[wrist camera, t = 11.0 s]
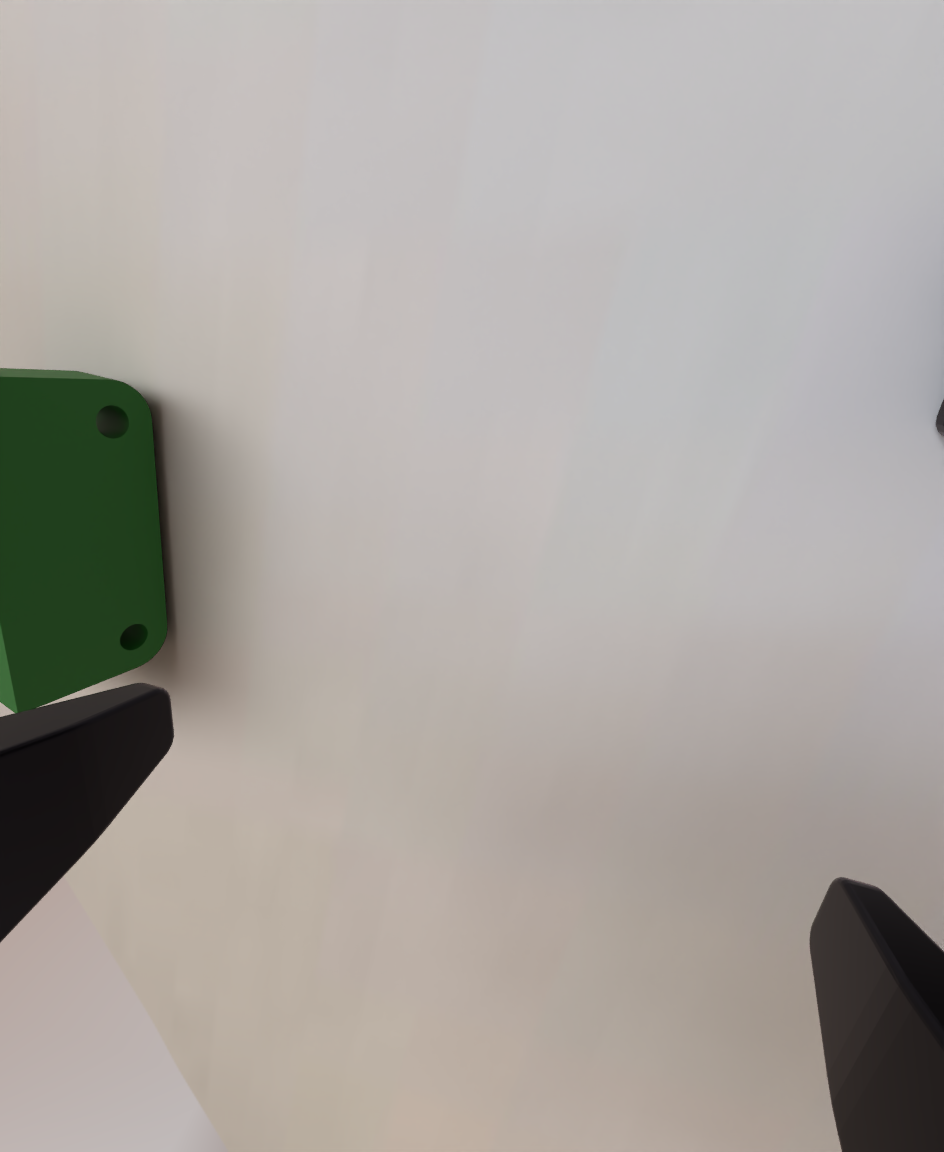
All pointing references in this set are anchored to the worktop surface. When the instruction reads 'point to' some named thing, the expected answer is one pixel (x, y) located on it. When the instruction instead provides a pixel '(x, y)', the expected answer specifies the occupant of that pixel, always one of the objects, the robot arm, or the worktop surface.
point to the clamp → (75, 535)
